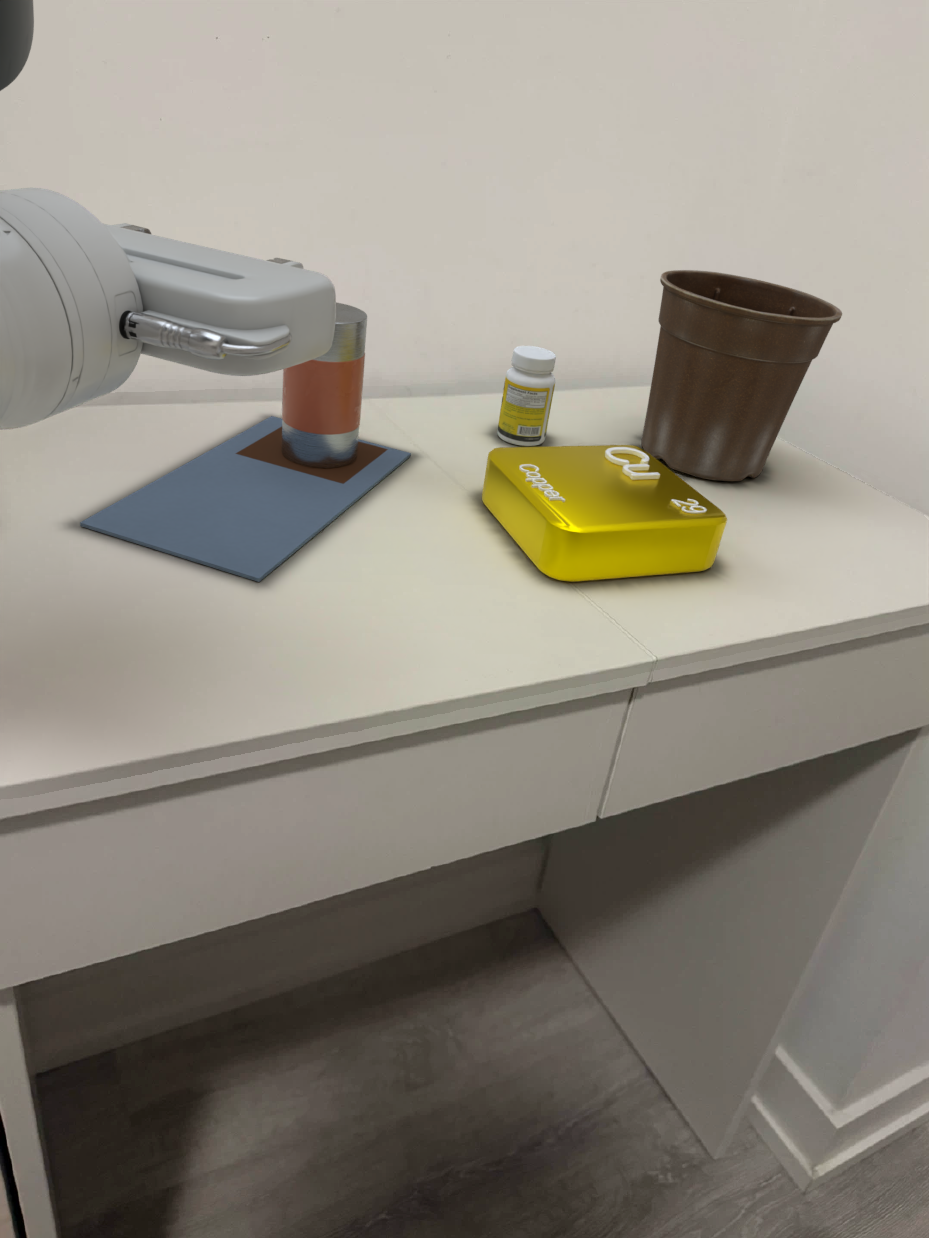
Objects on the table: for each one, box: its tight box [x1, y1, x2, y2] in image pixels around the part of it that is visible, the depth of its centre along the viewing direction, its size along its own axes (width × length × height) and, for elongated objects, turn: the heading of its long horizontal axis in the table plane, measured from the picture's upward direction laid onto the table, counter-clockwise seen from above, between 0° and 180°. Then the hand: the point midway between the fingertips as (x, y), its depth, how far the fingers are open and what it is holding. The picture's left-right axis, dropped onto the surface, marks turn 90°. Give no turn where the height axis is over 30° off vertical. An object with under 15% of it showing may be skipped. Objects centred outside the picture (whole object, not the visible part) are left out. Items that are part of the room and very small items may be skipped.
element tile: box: [481, 444, 728, 583], centre depth 72 cm, size 15×15×5 cm
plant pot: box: [640, 269, 843, 482], centre depth 86 cm, size 16×16×16 cm
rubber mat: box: [79, 415, 412, 583], centre depth 72 cm, size 14×26×1 cm, turn 160°
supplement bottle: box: [496, 345, 557, 447], centre depth 86 cm, size 5×5×8 cm
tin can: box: [281, 301, 368, 468], centre depth 75 cm, size 6×6×12 cm
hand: (214, 258), depth 50 cm, fingers open, 8 cm apart
